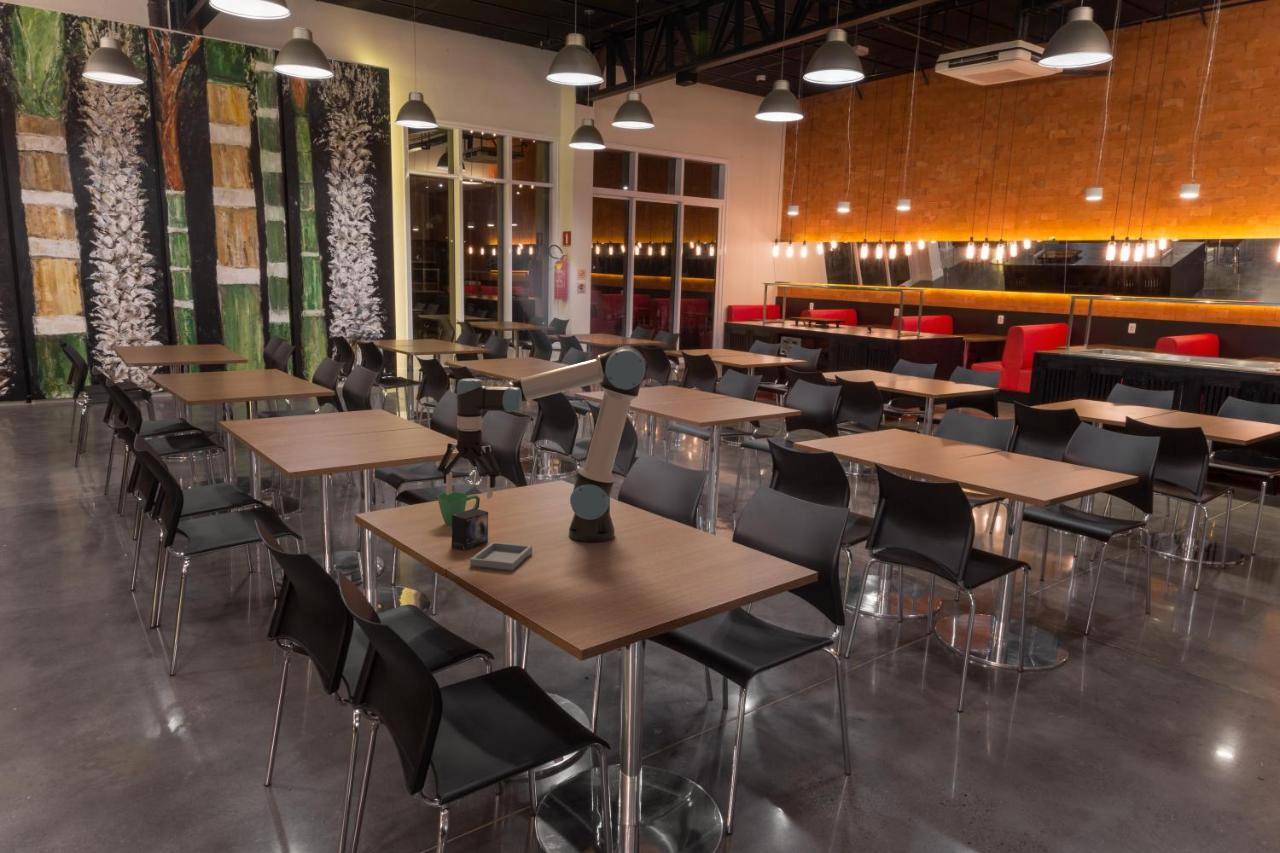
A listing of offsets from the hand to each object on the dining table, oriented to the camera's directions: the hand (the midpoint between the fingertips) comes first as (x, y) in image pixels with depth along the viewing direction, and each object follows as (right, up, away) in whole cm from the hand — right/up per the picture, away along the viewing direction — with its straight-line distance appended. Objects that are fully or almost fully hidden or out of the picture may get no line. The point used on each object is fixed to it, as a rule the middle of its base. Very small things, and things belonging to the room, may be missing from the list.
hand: (469, 495), depth 264 cm
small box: (0, -16, +3) cm, 16 cm away
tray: (+12, -18, -11) cm, 25 cm away
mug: (-9, -12, +26) cm, 29 cm away
